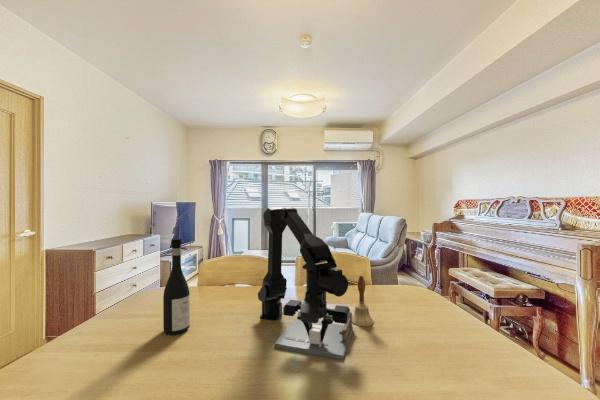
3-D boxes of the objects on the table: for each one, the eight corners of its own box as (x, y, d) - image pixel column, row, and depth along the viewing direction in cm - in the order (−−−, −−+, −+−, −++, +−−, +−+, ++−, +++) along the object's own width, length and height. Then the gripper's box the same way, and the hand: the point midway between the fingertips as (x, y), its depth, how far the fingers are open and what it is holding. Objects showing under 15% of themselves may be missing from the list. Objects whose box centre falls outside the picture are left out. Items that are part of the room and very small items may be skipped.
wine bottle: (195, 327, 95) (194, 238, 95) (175, 337, 88) (175, 241, 88) (177, 322, 99) (177, 236, 99) (157, 332, 92) (157, 239, 91)
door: (338, 341, 83) (338, 329, 83) (344, 326, 93) (344, 316, 93) (345, 342, 83) (345, 330, 83) (350, 327, 92) (350, 316, 92)
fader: (309, 344, 81) (309, 329, 81) (313, 338, 85) (313, 324, 85) (319, 346, 80) (319, 331, 80) (323, 339, 84) (323, 325, 84)
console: (274, 347, 82) (274, 328, 82) (296, 320, 100) (295, 305, 100) (342, 359, 76) (342, 339, 76) (353, 329, 94) (353, 312, 94)
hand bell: (374, 327, 95) (374, 279, 95) (349, 325, 97) (349, 278, 96) (373, 317, 103) (373, 273, 103) (350, 315, 105) (350, 272, 105)
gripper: (275, 291, 78) (275, 348, 78) (343, 299, 72) (343, 361, 72) (290, 280, 88) (290, 330, 88) (350, 286, 82) (350, 340, 82)
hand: (316, 340), depth 82 cm, fingers closed on fader, 3 cm apart
